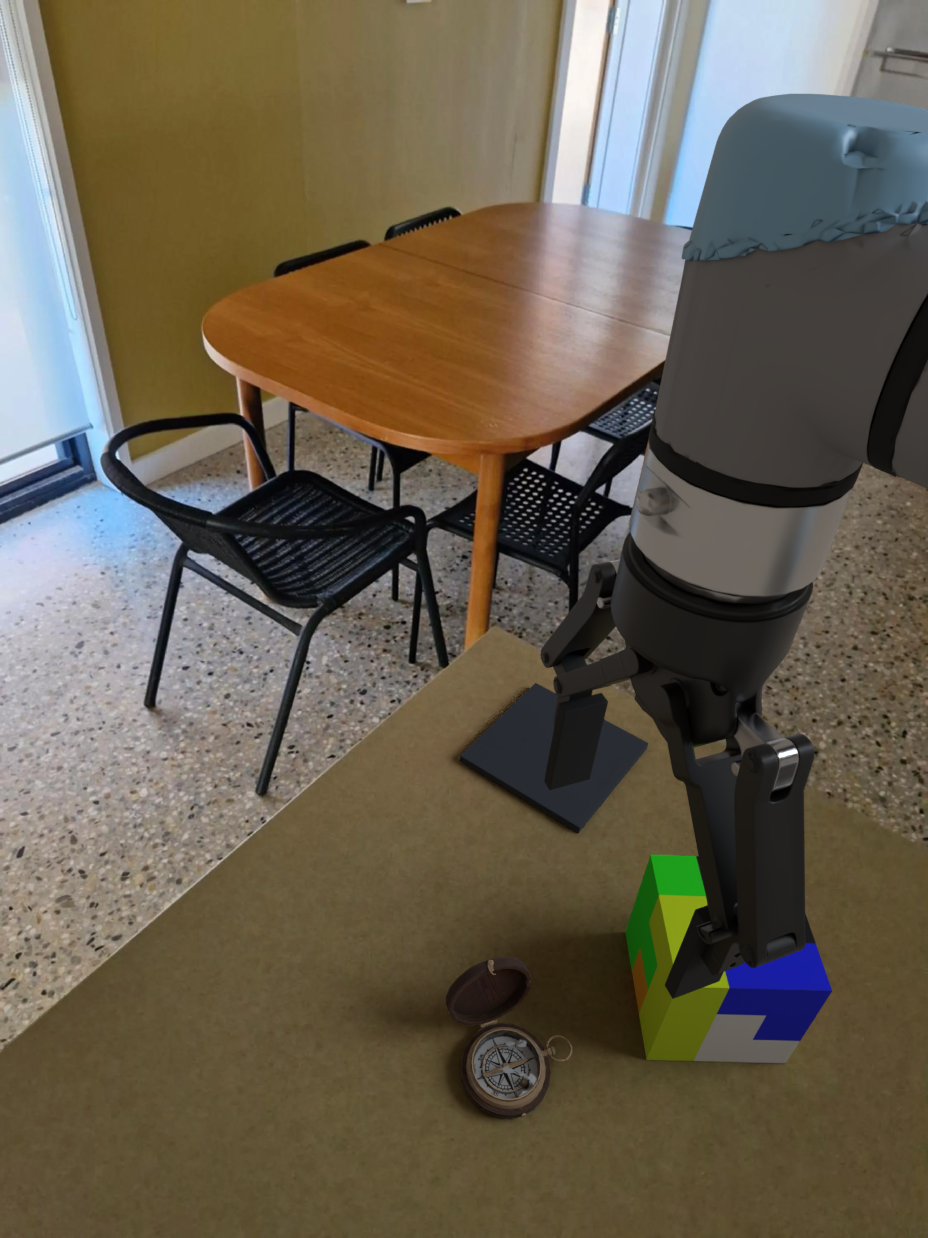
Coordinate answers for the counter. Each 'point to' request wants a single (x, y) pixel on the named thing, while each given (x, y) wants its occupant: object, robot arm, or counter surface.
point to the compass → (499, 1040)
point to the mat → (522, 752)
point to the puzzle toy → (724, 1011)
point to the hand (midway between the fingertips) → (623, 872)
